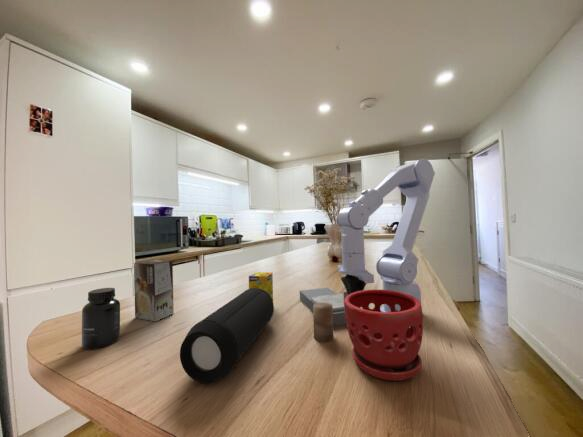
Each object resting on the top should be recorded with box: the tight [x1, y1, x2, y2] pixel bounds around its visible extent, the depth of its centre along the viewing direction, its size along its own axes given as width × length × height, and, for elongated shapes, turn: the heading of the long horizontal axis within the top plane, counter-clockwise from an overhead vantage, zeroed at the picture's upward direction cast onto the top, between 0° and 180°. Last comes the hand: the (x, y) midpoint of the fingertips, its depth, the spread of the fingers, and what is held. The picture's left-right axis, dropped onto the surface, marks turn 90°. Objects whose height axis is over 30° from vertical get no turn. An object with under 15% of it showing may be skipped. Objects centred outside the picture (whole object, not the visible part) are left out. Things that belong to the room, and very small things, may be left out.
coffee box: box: [133, 259, 175, 322], centre depth 69 cm, size 9×6×16 cm
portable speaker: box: [179, 288, 275, 384], centre depth 50 cm, size 26×10×10 cm, turn 167°
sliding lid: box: [311, 291, 348, 311], centre depth 66 cm, size 10×11×4 cm
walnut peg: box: [312, 303, 334, 343], centre depth 53 cm, size 4×4×7 cm
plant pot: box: [344, 288, 424, 382], centre depth 42 cm, size 13×13×12 cm
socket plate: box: [299, 287, 347, 327], centre depth 70 cm, size 10×22×3 cm, turn 15°
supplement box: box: [248, 271, 274, 301], centre depth 71 cm, size 6×6×11 cm
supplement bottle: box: [81, 287, 121, 351], centre depth 53 cm, size 7×7×12 cm
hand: (354, 304), depth 60 cm, fingers closed
